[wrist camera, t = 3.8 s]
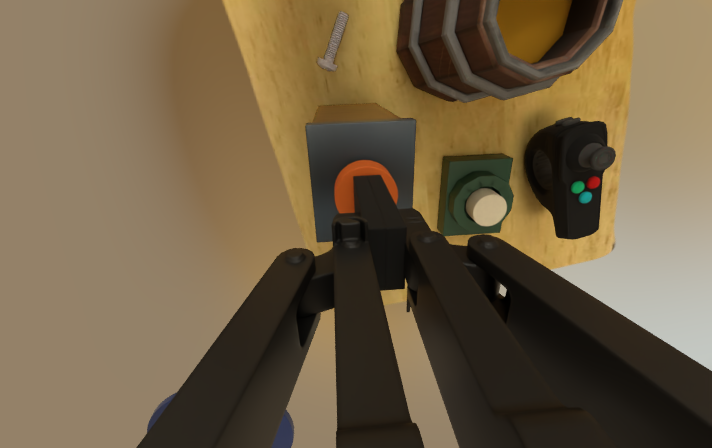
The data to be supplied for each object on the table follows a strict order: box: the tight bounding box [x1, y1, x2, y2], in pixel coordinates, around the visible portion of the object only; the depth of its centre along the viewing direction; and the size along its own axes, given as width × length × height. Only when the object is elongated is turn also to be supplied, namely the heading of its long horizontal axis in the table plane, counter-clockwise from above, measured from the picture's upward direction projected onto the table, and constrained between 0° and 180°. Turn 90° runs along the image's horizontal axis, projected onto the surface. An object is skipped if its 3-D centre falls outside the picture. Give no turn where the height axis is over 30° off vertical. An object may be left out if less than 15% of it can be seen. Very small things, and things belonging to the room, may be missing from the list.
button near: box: [334, 160, 398, 213], centre depth 19 cm, size 4×4×2 cm
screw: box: [317, 11, 349, 71], centre depth 30 cm, size 2×5×2 cm, turn 158°
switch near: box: [305, 103, 416, 242], centre depth 27 cm, size 8×6×16 cm
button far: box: [466, 188, 507, 226], centre depth 34 cm, size 4×4×2 cm
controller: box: [525, 117, 616, 239], centre depth 33 cm, size 4×12×10 cm, turn 17°
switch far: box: [437, 154, 514, 236], centre depth 36 cm, size 9×7×4 cm
